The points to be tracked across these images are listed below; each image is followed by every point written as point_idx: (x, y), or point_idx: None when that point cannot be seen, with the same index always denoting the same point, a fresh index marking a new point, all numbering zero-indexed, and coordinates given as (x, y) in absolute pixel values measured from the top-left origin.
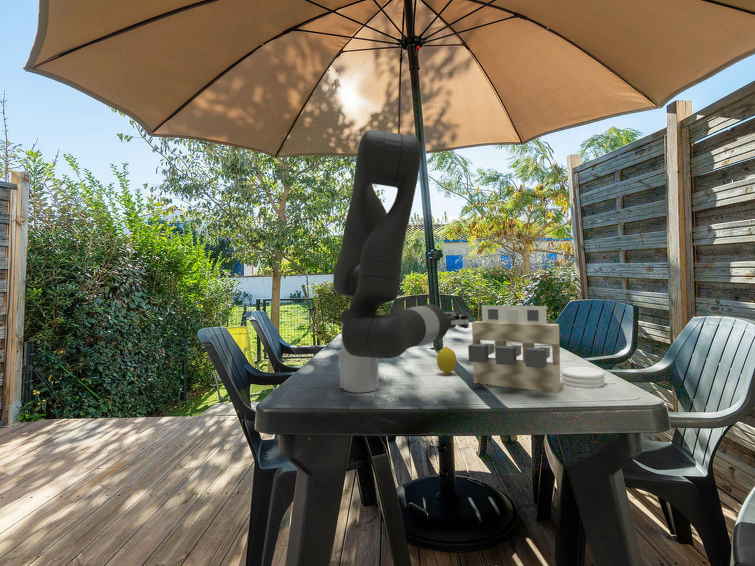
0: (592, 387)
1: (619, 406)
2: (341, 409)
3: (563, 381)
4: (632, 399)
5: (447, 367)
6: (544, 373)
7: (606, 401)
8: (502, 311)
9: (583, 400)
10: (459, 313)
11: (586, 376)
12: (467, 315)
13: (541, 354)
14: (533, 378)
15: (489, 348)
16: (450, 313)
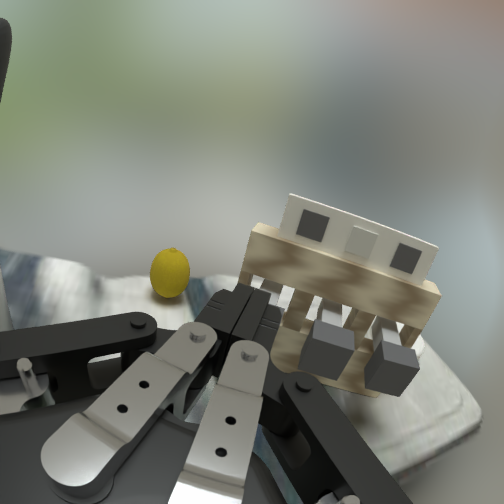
0: None
1: (459, 439)
2: None
3: None
4: (459, 406)
5: (169, 293)
6: None
7: (441, 423)
8: (339, 226)
9: (418, 427)
10: (308, 388)
11: None
12: (404, 494)
13: (412, 374)
14: (347, 373)
15: (277, 301)
16: (254, 433)
